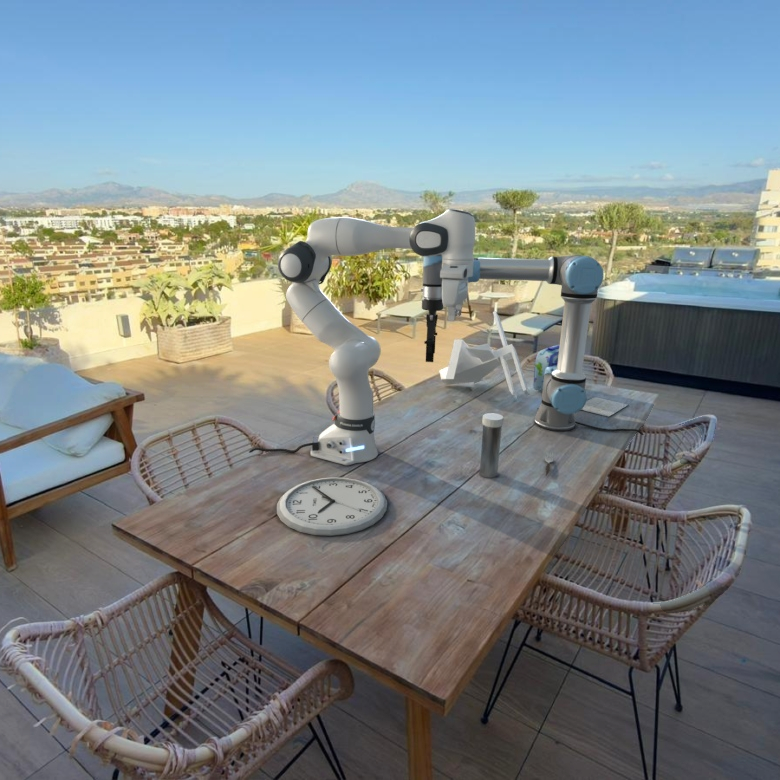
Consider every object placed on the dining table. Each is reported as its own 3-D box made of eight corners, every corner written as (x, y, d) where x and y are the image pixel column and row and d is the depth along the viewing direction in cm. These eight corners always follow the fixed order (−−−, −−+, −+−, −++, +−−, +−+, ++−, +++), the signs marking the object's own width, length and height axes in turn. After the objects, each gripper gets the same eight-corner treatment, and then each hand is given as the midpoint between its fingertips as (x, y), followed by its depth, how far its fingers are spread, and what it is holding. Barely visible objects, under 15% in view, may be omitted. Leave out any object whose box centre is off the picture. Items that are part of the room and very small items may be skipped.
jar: (484, 468, 166) (488, 413, 161) (500, 473, 163) (505, 417, 158) (476, 474, 162) (480, 418, 157) (493, 479, 159) (497, 422, 154)
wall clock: (392, 527, 129) (268, 531, 127) (391, 533, 130) (269, 537, 127) (383, 473, 158) (282, 475, 155) (383, 478, 158) (282, 480, 156)
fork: (541, 476, 161) (542, 470, 161) (545, 456, 176) (546, 450, 175) (550, 477, 161) (551, 471, 160) (553, 457, 175) (554, 451, 174)
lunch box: (550, 397, 237) (555, 352, 231) (529, 391, 245) (533, 348, 238) (577, 386, 255) (582, 344, 249) (556, 381, 262) (561, 340, 256)
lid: (487, 418, 162) (487, 411, 161) (506, 423, 159) (506, 415, 158) (478, 424, 157) (479, 417, 156) (497, 429, 154) (498, 421, 153)
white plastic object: (461, 429, 252) (437, 405, 227) (444, 352, 274) (420, 323, 250) (535, 404, 240) (518, 377, 215) (510, 326, 262) (492, 293, 237)
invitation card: (608, 416, 214) (573, 407, 224) (608, 416, 214) (573, 408, 224) (628, 404, 229) (594, 396, 238) (628, 405, 229) (594, 397, 238)
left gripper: (453, 266, 158) (451, 312, 162) (438, 272, 140) (436, 323, 144) (474, 267, 157) (471, 313, 161) (462, 273, 138) (459, 324, 142)
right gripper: (424, 293, 195) (422, 349, 202) (419, 302, 172) (417, 365, 178) (444, 294, 195) (441, 350, 201) (442, 303, 171) (439, 366, 177)
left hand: (454, 318), depth 152 cm, fingers open, 8 cm apart
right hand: (430, 357), depth 190 cm, fingers open, 13 cm apart
